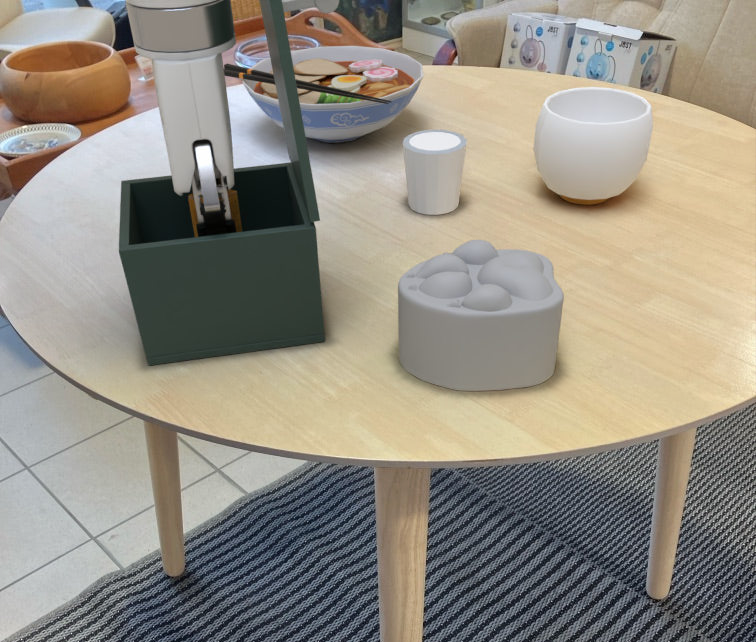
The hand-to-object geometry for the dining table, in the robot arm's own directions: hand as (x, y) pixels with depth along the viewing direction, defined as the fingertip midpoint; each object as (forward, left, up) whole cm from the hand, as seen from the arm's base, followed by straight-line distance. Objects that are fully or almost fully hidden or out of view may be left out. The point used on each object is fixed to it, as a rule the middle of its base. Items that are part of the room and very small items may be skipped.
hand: (220, 250), depth 76 cm
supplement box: (0, 0, -5) cm, 5 cm away
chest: (0, 0, -6) cm, 6 cm away
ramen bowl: (+17, +42, -7) cm, 46 cm away
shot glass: (+24, +18, -7) cm, 31 cm away
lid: (+7, 0, +13) cm, 15 cm away
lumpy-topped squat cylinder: (+20, -12, -7) cm, 24 cm away
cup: (+41, +16, -7) cm, 45 cm away
